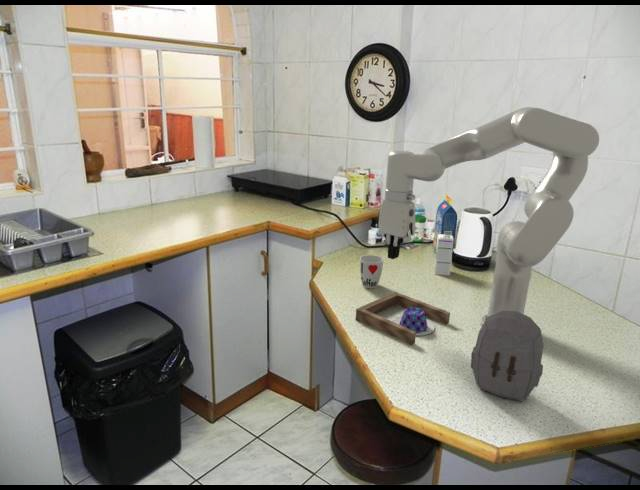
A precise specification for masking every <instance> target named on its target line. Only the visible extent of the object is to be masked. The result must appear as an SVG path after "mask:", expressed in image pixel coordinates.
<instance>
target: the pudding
mask: <svg viewBox="0 0 640 490" xmlns="http://www.w3.org/2000/svg"><path fill="white" fill-rule="evenodd" d="M392 322H394V323H397V324H399V325H401V326H404V327H406V328H408V329H411V330H413V331H415V332H416V336H425V335H428V334H431V333H433V332H434V330H435V325H434V323H433V322H431V321H430V320H429V319H428V318H427V317H426V314H425V312H424V311H423V310H422V309H420V308H416V307H413V308H411V307H410V308H407V309H405V308H404V311H403V313H402V315H401V316H398V317H396V318H394V319H393V320H392Z"/></svg>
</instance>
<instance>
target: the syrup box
mask: <svg viewBox="0 0 640 490" xmlns="http://www.w3.org/2000/svg"><path fill="white" fill-rule="evenodd" d="M453 241H454V240H453V236H452V235H446V234H438V239H437V248H436V254H435V260H434V261H435V262H434V275H440V276H450V275H451V269H452V259H453V258H452V250H453ZM453 251H454V250H453Z"/></svg>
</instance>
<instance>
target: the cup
mask: <svg viewBox="0 0 640 490" xmlns="http://www.w3.org/2000/svg"><path fill="white" fill-rule="evenodd" d="M383 265H384V258H383V257H381V256H379V255H373V254H367V255H366V254H365V255H362V256H360V257H359V272H360V280H361V283H362V287H363V288H366V289H376V288H377V287H378V285H379V282H380V279H381V277H382V273H383Z"/></svg>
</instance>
